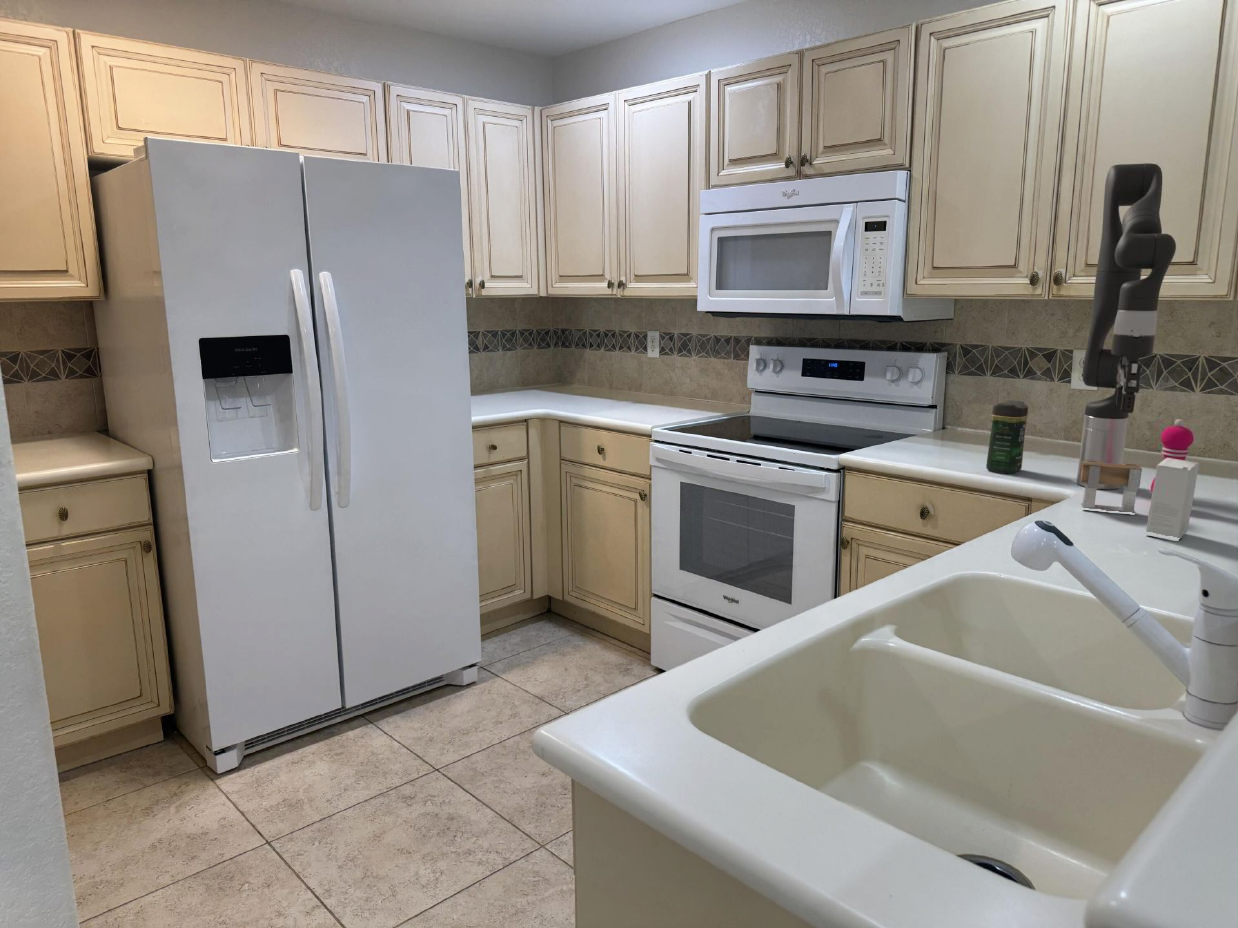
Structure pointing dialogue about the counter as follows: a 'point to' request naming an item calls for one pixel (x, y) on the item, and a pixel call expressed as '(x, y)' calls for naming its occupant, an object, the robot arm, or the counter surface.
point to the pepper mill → (1175, 442)
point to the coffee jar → (1007, 437)
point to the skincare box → (1172, 497)
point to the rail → (1109, 473)
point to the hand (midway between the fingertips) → (1124, 409)
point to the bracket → (1128, 493)
